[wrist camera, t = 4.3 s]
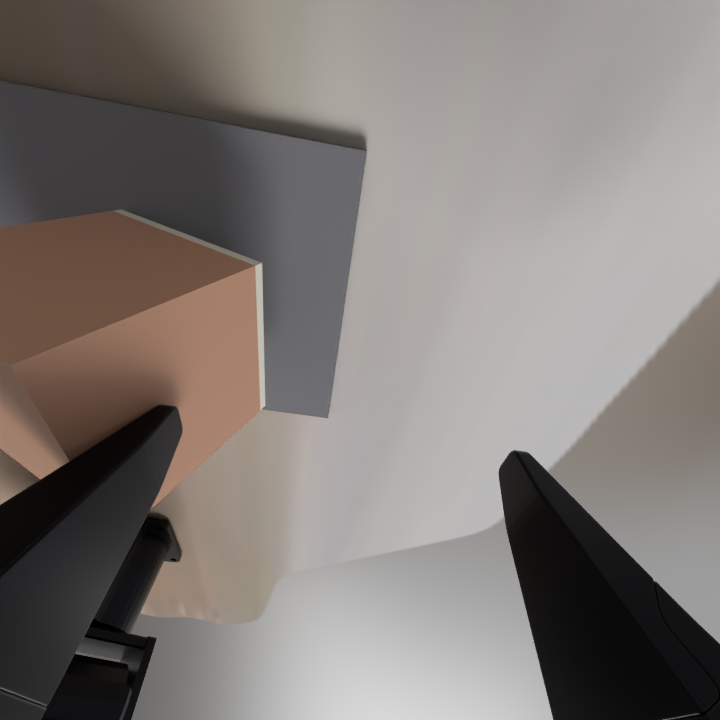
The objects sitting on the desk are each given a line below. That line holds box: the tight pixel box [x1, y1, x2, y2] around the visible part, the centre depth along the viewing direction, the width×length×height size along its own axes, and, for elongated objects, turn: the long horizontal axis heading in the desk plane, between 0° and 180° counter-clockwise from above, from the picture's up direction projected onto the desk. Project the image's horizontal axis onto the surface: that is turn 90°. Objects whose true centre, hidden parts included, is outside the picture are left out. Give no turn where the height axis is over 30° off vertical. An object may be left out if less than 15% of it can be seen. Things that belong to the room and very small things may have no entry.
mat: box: [0, 80, 367, 418], centre depth 13 cm, size 12×22×1 cm, turn 81°
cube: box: [0, 209, 265, 510], centre depth 10 cm, size 6×6×6 cm
